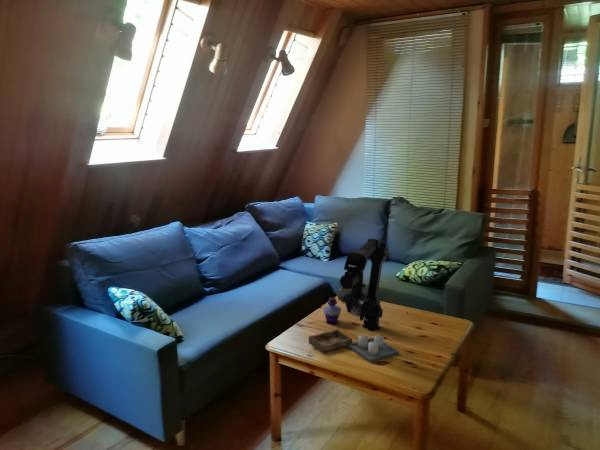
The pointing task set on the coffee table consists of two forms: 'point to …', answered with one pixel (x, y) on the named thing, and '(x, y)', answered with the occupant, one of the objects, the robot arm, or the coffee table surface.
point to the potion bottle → (332, 311)
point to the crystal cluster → (355, 307)
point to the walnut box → (330, 341)
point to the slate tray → (382, 353)
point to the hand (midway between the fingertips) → (355, 316)
